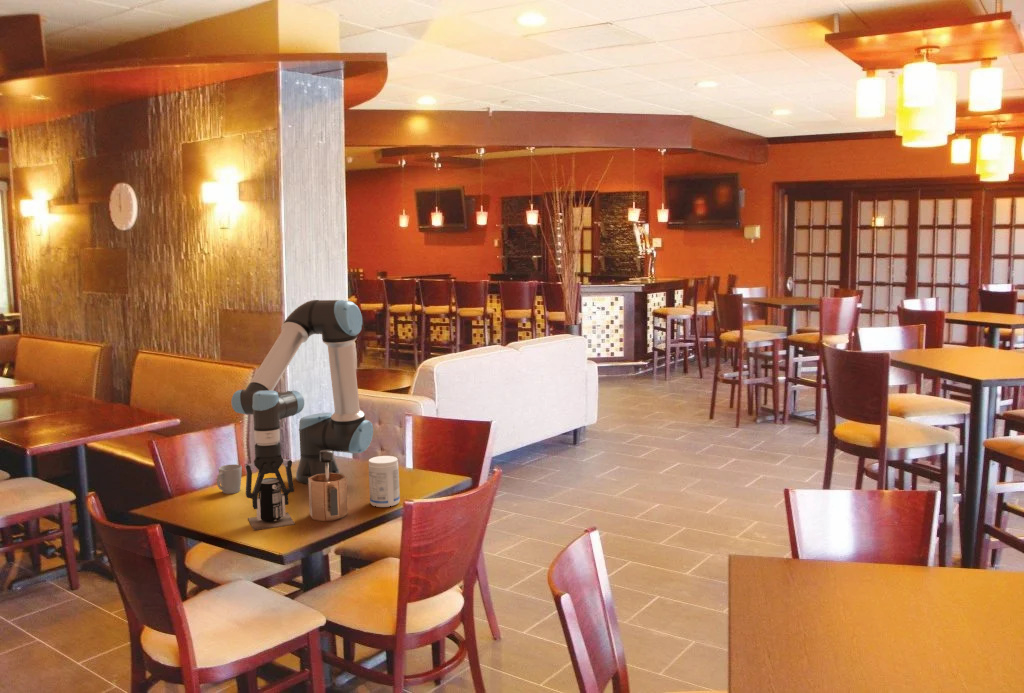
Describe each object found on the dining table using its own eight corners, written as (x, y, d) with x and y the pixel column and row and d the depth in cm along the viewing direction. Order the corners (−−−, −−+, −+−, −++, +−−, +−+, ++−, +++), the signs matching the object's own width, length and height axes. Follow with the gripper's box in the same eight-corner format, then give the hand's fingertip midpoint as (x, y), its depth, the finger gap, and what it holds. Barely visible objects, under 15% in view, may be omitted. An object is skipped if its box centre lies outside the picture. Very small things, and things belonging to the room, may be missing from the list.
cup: (247, 489, 289) (246, 465, 288) (227, 497, 280) (226, 472, 279) (230, 487, 292) (229, 463, 291) (209, 495, 283) (208, 470, 282)
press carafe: (307, 513, 263) (306, 475, 262) (341, 508, 267) (340, 471, 266) (316, 526, 251) (315, 486, 249) (352, 520, 255) (351, 482, 254)
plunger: (313, 504, 262) (311, 450, 260) (337, 500, 265) (335, 447, 263) (318, 510, 255) (316, 455, 253) (343, 507, 258) (341, 452, 256)
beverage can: (259, 516, 257) (257, 478, 255) (281, 514, 259) (279, 476, 258) (260, 523, 251) (258, 484, 249) (283, 520, 253) (281, 481, 252)
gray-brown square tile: (248, 518, 258) (248, 517, 258) (287, 513, 263) (287, 512, 263) (253, 530, 247) (253, 529, 247) (295, 524, 252) (295, 523, 252)
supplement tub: (390, 497, 279) (388, 453, 277) (405, 504, 271) (404, 459, 269) (364, 503, 272) (362, 458, 271) (379, 510, 265) (377, 464, 263)
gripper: (235, 449, 245) (239, 525, 248) (303, 441, 253) (306, 516, 256) (232, 443, 251) (236, 518, 254) (298, 436, 260) (301, 509, 262)
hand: (271, 517), depth 255 cm, fingers closed on beverage can, 6 cm apart
